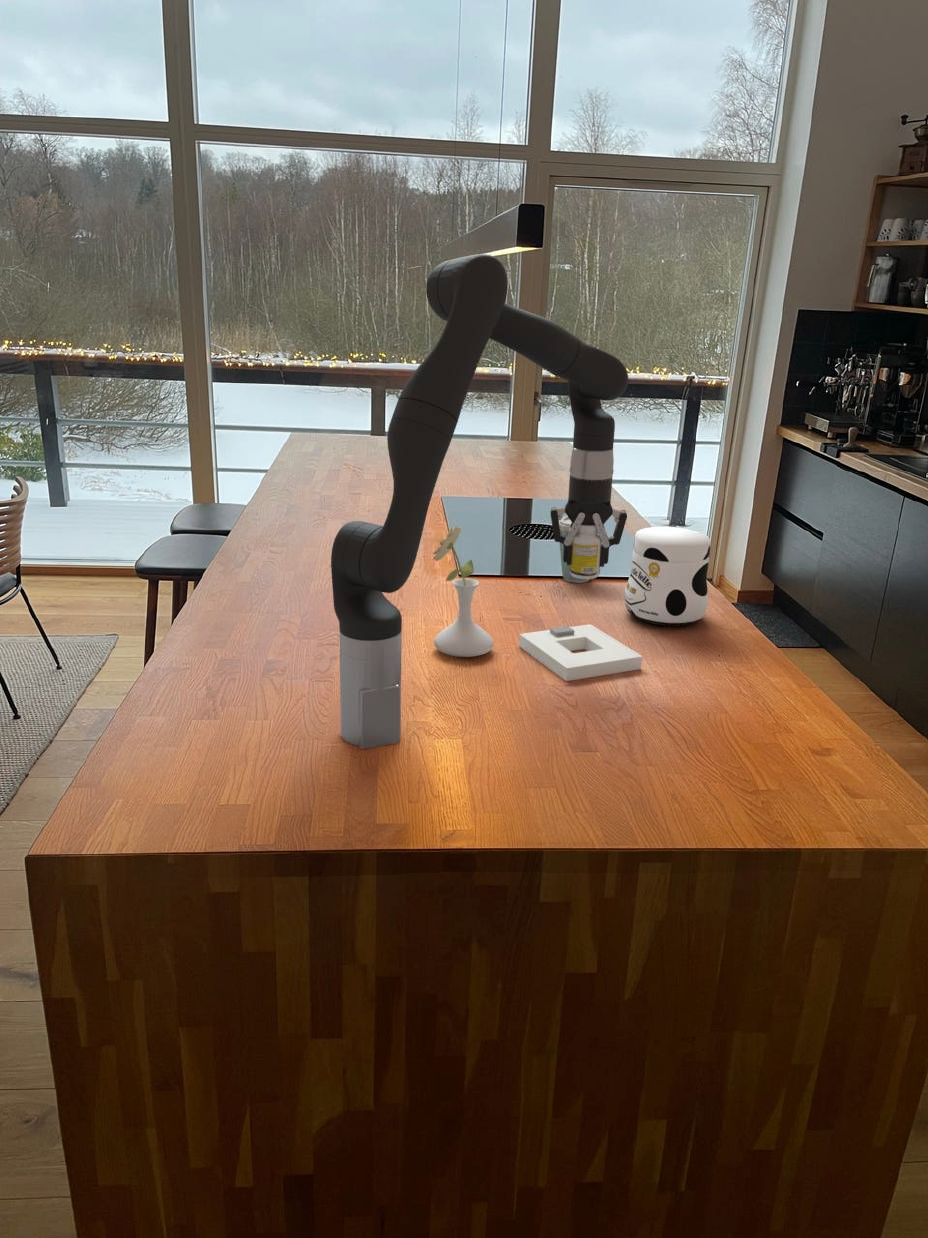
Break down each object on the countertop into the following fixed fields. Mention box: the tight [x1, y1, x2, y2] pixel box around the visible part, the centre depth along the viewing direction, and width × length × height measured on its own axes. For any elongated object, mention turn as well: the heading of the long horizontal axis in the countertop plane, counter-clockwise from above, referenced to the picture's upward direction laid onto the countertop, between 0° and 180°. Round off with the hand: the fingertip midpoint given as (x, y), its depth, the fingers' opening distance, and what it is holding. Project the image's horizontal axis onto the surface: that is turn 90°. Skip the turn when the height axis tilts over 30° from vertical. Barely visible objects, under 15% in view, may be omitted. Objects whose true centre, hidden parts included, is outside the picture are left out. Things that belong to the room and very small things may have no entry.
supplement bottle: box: [570, 525, 602, 580], centre depth 172 cm, size 5×5×10 cm
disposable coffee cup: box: [559, 515, 599, 584], centre depth 223 cm, size 11×11×15 cm
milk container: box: [624, 526, 711, 627], centre depth 199 cm, size 17×17×18 cm
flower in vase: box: [432, 525, 495, 658], centre depth 175 cm, size 13×11×25 cm
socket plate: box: [518, 623, 643, 682], centre depth 178 cm, size 18×16×3 cm
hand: (584, 564), depth 173 cm, fingers closed on supplement bottle, 5 cm apart
